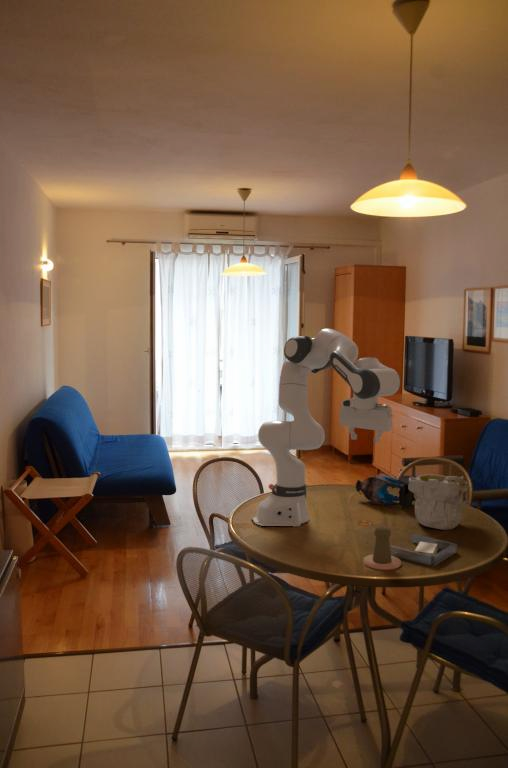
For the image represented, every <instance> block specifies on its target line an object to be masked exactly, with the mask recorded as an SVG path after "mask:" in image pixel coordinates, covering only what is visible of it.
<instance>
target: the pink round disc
mask: <svg viewBox="0 0 508 768" xmlns="http://www.w3.org/2000/svg"><path fill="white" fill-rule="evenodd" d="M373 554H374V553H372V554H369V555H366V556H364V557H363V559H362V560H363V561H362V562H363V564H364V566H366V567H368V568H370V569H374V570H379V571H391V570H397V569H399V568H400V567H401V566H402V561H401V558H399V557H395V556H392V555H391V560H392V561H391V563H388V564H379V563H376V562H374V561H373Z"/></svg>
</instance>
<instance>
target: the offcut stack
mask: <svg viewBox="0 0 508 768" xmlns="http://www.w3.org/2000/svg"><path fill="white" fill-rule="evenodd" d="M414 551H415V552H418V553H422V554H426V555H430V556H434V555H435V554H437V553H438V549H437V544H434V543H427V542H419V544H417V546H416V548H415V550H414Z"/></svg>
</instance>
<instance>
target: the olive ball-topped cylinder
mask: <svg viewBox="0 0 508 768" xmlns="http://www.w3.org/2000/svg"><path fill="white" fill-rule="evenodd" d="M373 534H374V536H375V542H374V549H373V553H372V554H373V561H374V562H376V563H379V564H388V563H391V561H392V560H391V556H392V555H391V551H390V546H391V545H390V538H391V535H392V531H391V529H390V528H389V527H387V526H377V527H375V529H374V533H373Z"/></svg>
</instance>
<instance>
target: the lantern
mask: <svg viewBox="0 0 508 768" xmlns="http://www.w3.org/2000/svg"><path fill="white" fill-rule="evenodd" d="M401 484H402V485H401ZM408 486H409V481H408V482H404V481H401V480H400V479H397V478H395V477H393V476H391V475H387V474H386V473H380V474H378V475H376V474H375V475H372V476H368V477H367V478H365V479H364V480H363V481H361V480H360V479H356V482H355V489H356V490H355V491H357V492H358V493H359V494H360V496H362V495H364V497H365V499H367V500H368V501H370V505H371V506H384V508H386V506H398V505H399V506H400V507H401V509H402V510H403V511H404V510H405V509H406V508H409V507H410V506H412V505H413V502H415V501H416V497H415V494H414V493H413V492H411V491H410V490H409V489H408ZM388 488H391V489H396V488H399V489H398V490H399V491H398V495H394V494H392V493H390V492H389V490H388Z"/></svg>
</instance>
